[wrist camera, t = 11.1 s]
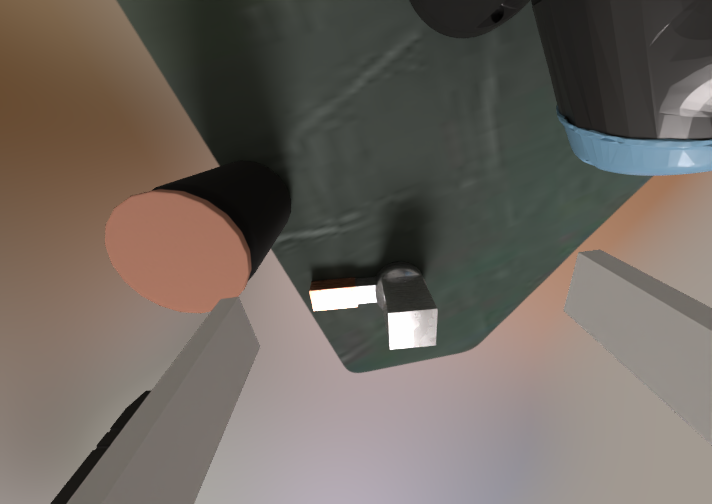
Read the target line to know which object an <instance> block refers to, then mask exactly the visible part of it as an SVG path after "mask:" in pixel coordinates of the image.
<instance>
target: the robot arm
mask: <svg viewBox="0 0 712 504" xmlns="http://www.w3.org/2000/svg"><path fill="white" fill-rule="evenodd" d="M529 1H530V0H410V2H411V4H412V6H413V8H414V9H415V11H416V12H417V14H418V15H419V16H420V17H421V19H422V20H423V21H424V22H425V23H426V24H427V25H429V26H430V27H431V28H432V29H434V30H435V31H437V32H439V33H441V34H443V35H446V36H450V37H455V38H470V37H476V36H479V35H482V34H485V33H487V32H490V31H491V30H493V29H495V28H497V27H498V26H500V25H501V24H503V23H504V22H506V21H507V20H509V19H510V18H512V17H513V16H514V15H515V14H517V13H518V12H519V11H520V10H521V9H522V8H523V7H524V6H525V5H526V4H527V3H528V2H529ZM531 1H532V5H533V4H534V5H533V6H532V8H533V12H534V16H535V19H536V23H537V27H538V31H539V35H540V38H541V42H542V46H543V50H544V53H545V57H546V61H547V65H548V68H549V72H550V76H551V80H552V84H553V88H554V93H555V97H556V101H557V106H556V110H557V115H558V119H559V120H560V122H561V123H562V124H563V125H564V127H565V130H566V133H567V136H568V139H569V142H570V145H571V148H572V150H573V152H574V153H575V154H576V156H577V157H578V158H579V159H581V160H582V161H583V162H586V163H588V164H591V165H594V166H596V167H597V168H599V169H601V170H605V171H609V172H615V173H621V174H629V175H678V174H690V173H700V172H707V171H712V0H531ZM564 312H566V313H567V314H568V315H569V316H570V317H571V318H572V319H573V320H575V322H576V323H578V324H579V325H580V326H581V327H582V328H583V329H584V330H585V331H586V332H588V333H589V334H590V335H591V336H592V337H593V338H594V339H595V340H597V342H599V343H600V344H601V345H602V346H603V347H604V348H605V349H606V350H607V351H608V352H609V353H610V354H612V355H613V356H614V357H615V358H616V359H617V360H618V361H619V362H620V363H621V364H623V365H624V366H625V367H626V368H627V369H628V370H629V371H630V372H631V373H633V374H634V375H635V376H636V377H637V378H638V379H639V380H640V381H641V382H642V383H643V384H644V385H646V386H647V387H648V388H649V389H650V390H651V391H652V392H653V393H654V394H655V395H657V396H658V397H659V398H660V399H661V400H662V401H663V402H664V403H665V404H666V405H668V406H669V407H670V408H671V409H672V410H673V411H674V412H675V413H677V415H679V416H680V417H681V418H682V419H683V420H684V421H685V422H686V423H687V424H688V425H689V426H691V427H692V428H693V429H694V430H695V431H696V432H697V433H698V434H700V436H702V437H703V438H704V439H705V440H706V441H707V442H708V443H709V444H710V445H712V308H710V307H708V306H706V305H705V304H703V303H701V302H699V301H697V300H695V299H693V298H691V297H689V296H687V295H686V294H684V293H682V292H680V291H678V290H676V289H674V288H672V287H670V286H668V285H666V284H665V283H662V282H661V281H659V280H657V279H655V278H653V277H651V276H649V275H648V274H645V273H644V272H642V271H640V270H638V269H636V268H634V267H632V266H630V265H628V264H627V263H625V262H623V261H621V260H619V259H617V258H615V257H613V256H611V255H610V254H608V253H606V252H604V251H602V250H593V251H585V252H579V253H578V256H577V260H576V264H575V268H574V272H573V276H572V280H571V284H570V287H569V291H568V296H567V299H566V304H565V307H564ZM259 347H260V345H259V343H258V340H257V338H256V336H255V334H254V331H253V329H252V326H251V324H250V322H249V320H248V317H247V315H246V313H245V310H244V308H243V306H242V303H241V301H240V299H239V297H233V298H225V299H220V300H219V302H218V303H217V304H216V306H215V307H214V308H213V310H212V311H211V312H210V314H209V315H208V317H207V318H206V319H205V320H204V322H203V323H202V324H201V326H200V327H199V328H198V330H197V331H196V333H195V334H194V335H193V336H192V338H191V339H190V340H189V342H188V343H187V344H186V346H185V347H184V348H183V350H182V351H181V352H180V354H179V355H178V356H177V358H176V359H175V360H174V362H173V363H172V364H171V366H170V367H169V368H168V370H167V371H166V372H165V374H164V375H163V376H162V377H161V379H160V380H159V381H158V383H157V384H156V385H155V387H154V388H153V389H152V390H151V391H145V392H144V393H143V394H142V395H141V396H140V397H139V398H137V399H136V400H135V401H134V402H133V403H132V404H131V405H129V406H128V407H127V408H126V409H125V411H124V412H123V413H122V414H121V416H120V417H119V418H118V419H117V421H116V422H115V423H114V424H113V426H112V427H111V428H110V429H111V430H110V432H107V433H106V434H105V436H104V437H103V438H102V439H101V441H100V442H99V443H98V444H97V448H96V449H95V450H93V451H92V452H91V453H90V455H89V456H88V457H87V458H86V460H85V461H84V462H83V463H82V465H81V466H80V467H79V469H78V470H77V471H76V472H75V473H74V475H73V476H72V477H71V479H70V480H69V481H68V482H67V483H66V485H65V486H64V487H63V488H62V490H61V491H60V492H59V494H58V495H57V496H56V497H55V499H54V500H53V501H52V502H51V504H194V502H195V500H196V498H197V495H198V493H199V490H200V488H201V486H202V483H203V480H204V478H205V476H206V474H207V471H208V469H209V467H210V464H211V462H212V459H213V457H214V455H215V452H216V450H217V448H218V445H219V442H220V440H221V438H222V436H223V433H224V431H225V428H226V426H227V424H228V421H229V419H230V417H231V414H232V412H233V409H234V407H235V405H236V402H237V400H238V397H239V395H240V393H241V390H242V388H243V385H244V383H245V381H246V379H247V376H248V374H249V371H250V369H251V367H252V364H253V362H254V360H255V357H256V355H257V352H258V350H259Z"/></svg>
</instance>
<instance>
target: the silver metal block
mask: <svg viewBox="0 0 712 504" xmlns="http://www.w3.org/2000/svg"><path fill="white" fill-rule="evenodd" d="M381 287H382V302H383V313H384V319H385V324H386V330H387V335H388V341H389V346H390V349H401V348H412V347H423V346H434V345H436V330H437V307H436V305H435V302H434V300H433V298H432V296H431V294H430V292H429V290H428V288H427V286H426V284H425V282H424V280H423V277H422V275H414V276H403V277H393V278H383V279H381Z"/></svg>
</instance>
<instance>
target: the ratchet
mask: <svg viewBox="0 0 712 504" xmlns="http://www.w3.org/2000/svg"><path fill="white" fill-rule="evenodd" d="M414 275H422V274H421V272H420V271H419V269H418V268H417V267H416V266H414V265H412V264H410V263H407V262H393V263H390V264H388V265H386V266H384V267H383V268H382V269H380V271H379V272H378V273H377V275H376V277H369V278H358V279H355V277H352V278H342V279H331V280H321V281H312V283H311V287H310V291H309V292H310V296H311V301H312V306H313V311H320V310H330V309H341V308H352V307H357V304H361V303H372V302H377V303H378V304H379V306H380V307H381V308H382V309H383V302H382V287H381V279H383V278H393V277H403V276H414ZM422 277H423V276H422ZM423 280H424V278H423ZM424 282H425V280H424ZM425 284H426V283H425ZM426 286H427V285H426Z"/></svg>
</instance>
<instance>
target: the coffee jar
mask: <svg viewBox="0 0 712 504" xmlns="http://www.w3.org/2000/svg"><path fill="white" fill-rule="evenodd" d="M290 213H291V199H290V196H289V193H288V190H287V187H286V186H285V185H284V183H283V182H282V180H281V179H280V177H279V176H278V175H276V174H275V173H274V172H273V171H272V170H270V169H269V168H268V167H265V166H263V165H261V164H258V163H256V162H249V161H238V162H234V163H230V164H227V165H223V166H220V167H217V168H214V169H211V170H208V171H205V172H202V173H199V174H196V175H193V176H190V177H187V178H183V179H180V180H177V181H174V182H171V183H168V184H165V185H162V186H159V187H156V188H154V189H153V190H152V191H149V192H145V193H140V194H136V195H132V196H130V197H129V198H127V199H126V200H125V201H123V202H122V203H120V204H119V205H118V206H116V207H115V208H114V210H113V212H112V214H111V216H110V217H109V220H108V222H107V223H106V228H105V231H106V232H105V246H106V248H107V251H108V254H109V257H110V260H111V263H112V265H113V266H114V267H115V269H116V270H117V272H118V273H119V274H120V276H121V277H122V278H123V280H124V281H125V282H126V283H127V284H128V285H129V286H131V287H132V288H133V289H134V290H135V291H136V292H138V293H139V294H140V295H141V296H143V297H145V298H147V299H148V300H150V301H152V302H154V303H156V304H158V305H159V306H163V307H165V308H169V309H172V310H176V311H179V312H188V313H189V312H190V313H205V312H209V311H212V310H213V308H214V307H215V306H216V304H217V303H218V302H219V300H220V299H225V298H233V297H238V296H239V295H240V293H241V292H242V291H243V290H244V289H245V287H246V285H247V282H248V280H249V279H250V278H251V277H252V276H253V274H254V273H255V272H256V270H257V269H258V267H259V265H260V264H261V263H262V261H263V259H264V258H265V256H266V255H267V253H268V252H269V250H270V248H271V247H272V245H273V244H274V242H275V241H276V239H277V237H278V236H279V234H280V233H281V231H282V230H283V228H284V226H285V225H286V223H287V221H288V218H289V216H290Z"/></svg>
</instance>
